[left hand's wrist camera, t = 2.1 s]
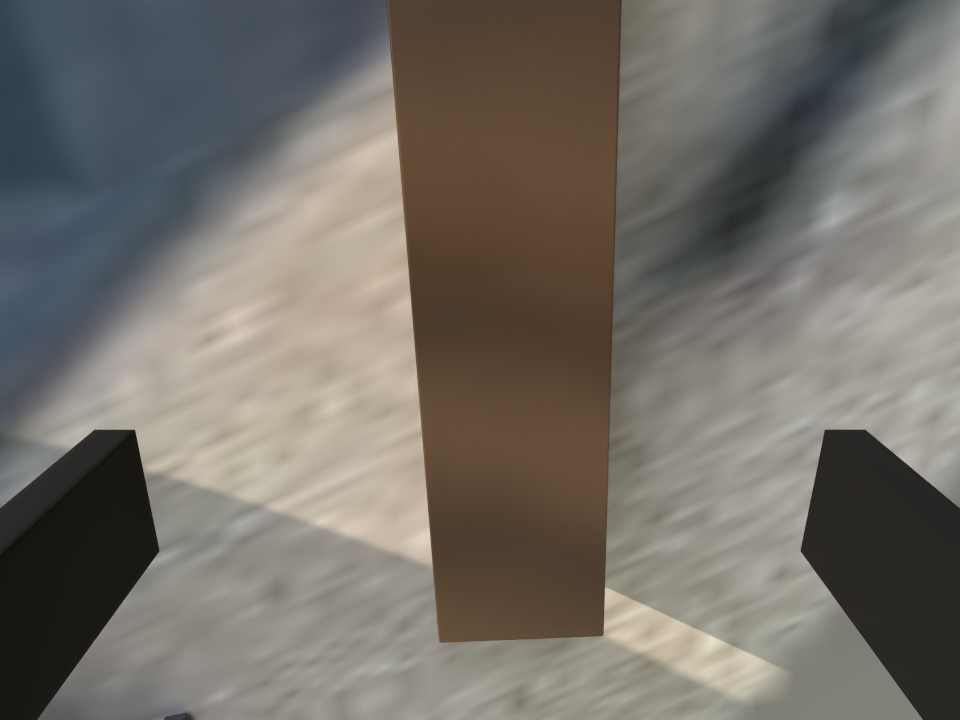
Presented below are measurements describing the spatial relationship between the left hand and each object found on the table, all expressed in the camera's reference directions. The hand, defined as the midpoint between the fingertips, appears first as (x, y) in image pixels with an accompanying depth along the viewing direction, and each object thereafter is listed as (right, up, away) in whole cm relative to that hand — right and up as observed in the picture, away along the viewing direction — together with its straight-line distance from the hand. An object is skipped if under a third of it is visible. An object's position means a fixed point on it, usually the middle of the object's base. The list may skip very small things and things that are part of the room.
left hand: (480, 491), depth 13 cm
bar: (0, +29, +4) cm, 29 cm away
